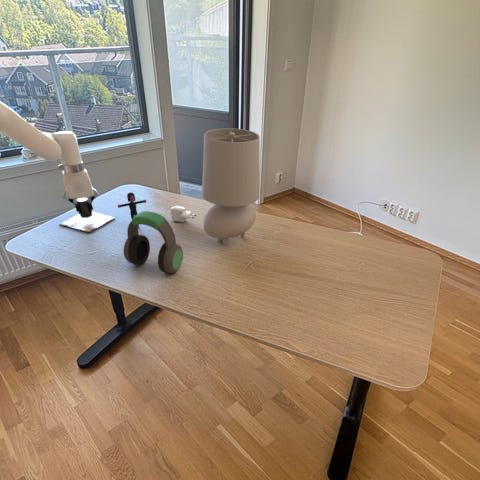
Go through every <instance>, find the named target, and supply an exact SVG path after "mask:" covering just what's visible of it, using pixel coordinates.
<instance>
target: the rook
mask: <svg viewBox="0 0 480 480" xmlns="http://www.w3.org/2000/svg"><path fill="white" fill-rule="evenodd" d="M76 200H77V202H78V204H79V208H80V211H81V214H80V216H81V217H82V218H89V217H91V216H92V213H90V210H89V206H88V199H87V198H77V199H76Z"/></svg>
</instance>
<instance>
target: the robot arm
mask: <svg viewBox="0 0 480 480" xmlns="http://www.w3.org/2000/svg"><path fill="white" fill-rule="evenodd" d="M0 134H1V135H3V136H5V137H7V138H9V139H11V140H12V141H14V142H15V143H17V144H18V145H20V146H22V147H23V148H25V149H27V150H28V151H30V152H32V153H34V154H35V155H36V156H38V157H40V158H42V159H43V160H45V161H47V162H56V161H58V160H59V159H60V164H59V165H57V168H58V169H59V170H62V171H61V174H62V175H61V176H62V182H63V187H64V192H63V195H62V199H63V200H65V201H68V202H70V203H71V204H73V205H74V207H75V211H76V212H78V214H81V211H80V208H79V204H78V202H77V199H79V198H87V199H88V206H89V210H90V213H92V212H93V211H94V208H93V207H94V206H93V202H94V200H95V199H96V198H97V197H99V195H100V194H99V192H98V190H96V189H95V187H94V186H93V185H92V181H91V178H90V175H89V173H88V171H87V169H86V168H85V167H84V163H83V158H82V154H81V150H80V147H79V142H78V139H77V135H76V134H75V133H74V132H73V131H69V130H62V131H57V132H43V131H41V130H39V128H37V127H35V126H34V125H32V124H31V123H30V122H29V121H27V120H26V119H24V118H23V117H22V116H20V114H19V113H17V112H16V111H15V110H13V109H12V108H11V107H9V106H8V105H6V104H5V103H3V102H2V101H0Z"/></svg>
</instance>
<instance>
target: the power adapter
mask: <svg viewBox="0 0 480 480" xmlns="http://www.w3.org/2000/svg"><path fill="white" fill-rule="evenodd" d="M170 215H171V221H173V222H178V223H184V222H186V220H189V218H190V219H195V217H197V216H198V214H195V213H193V212H192V211H188V210H187V209H186V207H183V206H178V205H174V206H172V207H171V209H170Z"/></svg>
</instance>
